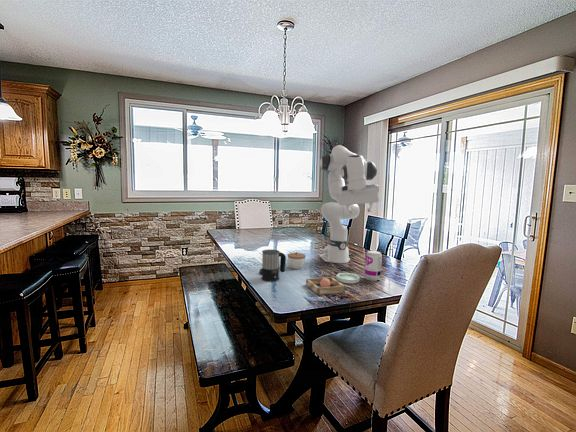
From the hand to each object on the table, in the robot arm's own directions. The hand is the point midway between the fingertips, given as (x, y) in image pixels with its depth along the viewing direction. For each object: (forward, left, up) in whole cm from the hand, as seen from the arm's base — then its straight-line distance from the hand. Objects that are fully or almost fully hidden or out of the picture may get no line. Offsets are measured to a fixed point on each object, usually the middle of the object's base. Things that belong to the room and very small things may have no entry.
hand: (360, 212), depth 154 cm
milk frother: (-18, -43, -37) cm, 59 cm away
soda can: (-1, +11, -37) cm, 38 cm away
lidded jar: (-31, -22, -37) cm, 53 cm away
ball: (+6, -21, -34) cm, 40 cm away
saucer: (-3, -3, -36) cm, 37 cm away
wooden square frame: (+6, -21, -36) cm, 42 cm away
